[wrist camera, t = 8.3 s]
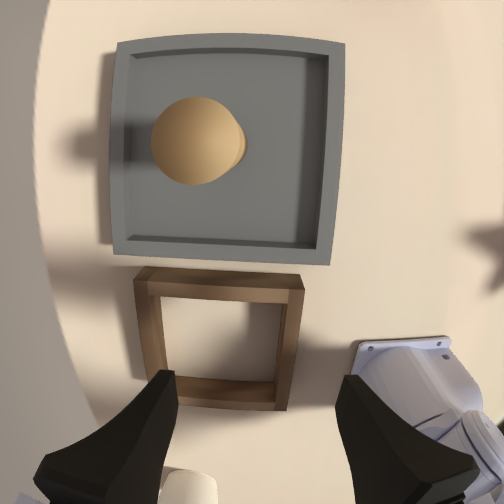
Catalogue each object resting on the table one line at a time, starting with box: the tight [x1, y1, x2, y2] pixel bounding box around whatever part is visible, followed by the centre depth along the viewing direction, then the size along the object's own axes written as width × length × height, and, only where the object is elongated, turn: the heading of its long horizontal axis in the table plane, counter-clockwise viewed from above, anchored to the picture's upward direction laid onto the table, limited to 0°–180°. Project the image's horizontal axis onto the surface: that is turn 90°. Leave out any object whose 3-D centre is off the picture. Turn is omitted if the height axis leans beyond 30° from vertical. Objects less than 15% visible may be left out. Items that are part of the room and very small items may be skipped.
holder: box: [133, 266, 305, 411], centre depth 22 cm, size 11×11×2 cm
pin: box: [151, 97, 248, 185], centre depth 14 cm, size 3×3×9 cm
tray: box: [109, 33, 345, 266], centre depth 18 cm, size 14×14×2 cm
